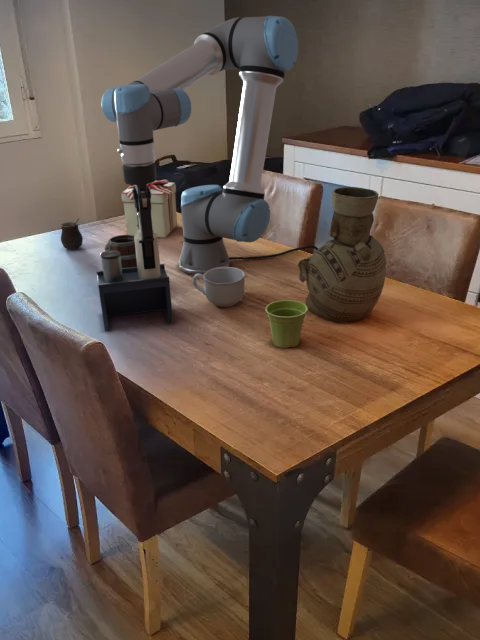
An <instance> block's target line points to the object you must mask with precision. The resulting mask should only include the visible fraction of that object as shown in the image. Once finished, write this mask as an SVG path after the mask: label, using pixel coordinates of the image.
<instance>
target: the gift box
mask: <svg viewBox="0 0 480 640" xmlns="http://www.w3.org/2000/svg"><path fill="white" fill-rule="evenodd" d="M125 184H126V185H128V187H127V188H126V189H124V190H123V191H122V192H121V194H120V195H121V202H122V204H123V211H124V219H125V221H124V222H125V229H126V235H133V236H135V235H136V234H137V230H138V229H139V228H138V227H137V224H138V223H137V213H136V208H135V204H134V198H133V194H132V190H133V188H134V186H135V184H133V185H130V184H127V183H125ZM129 185H130V186H129ZM147 188H149V190H150V191H151V199H150V200H151V218H152V229H153V230H154V233H156V234H157V236H158V238H161V239H162V238H164V239H165V238H167V237H168V236H169V234H171V233H172V231H173V230H174V229H175V228H176V227H177V226H178V214H177V201H176V193H177V186H176V182H170V180H168V179H161V180H156V181H154V182H153V183H148V184H147Z"/></svg>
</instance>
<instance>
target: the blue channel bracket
mask: <svg viewBox="0 0 480 640" xmlns="http://www.w3.org/2000/svg"><path fill="white" fill-rule="evenodd" d="M160 270H161V276H160V277H159V278H150V279H139V277H138V270H137V267H130V268H122V272H123V281H121V282H113V283H106V282H105V281H104V274H103V269H102V270H96V277H97V286H98V295H99V301H100V307H101V314H102V320H103V328H104V332H109V331H110V328H109V320H108V317H113V316H120V315H131V314H137V313H139V314H140V313H146V312H155V311H164V313H165V316H166V319H167V323H168V325H171V324H174V321H173V320H174V319H173V308H172V296H171V284H170V281H171V280H170V276H168V273H167V271H166V269H165V264H164V263H160Z"/></svg>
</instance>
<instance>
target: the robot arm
mask: <svg viewBox="0 0 480 640" xmlns="http://www.w3.org/2000/svg"><path fill="white" fill-rule="evenodd" d="M298 55H299V39H298V35H297V32H296V28H295V26H294V24H293V22H291V20H289V19H288V18H287V17H285V16H279V15H278V16H276V15H271V14H270V15H264V16H237V17H233V18H230V19H227V20H224V21H223V22H221V23H218V24H217V25H215V26H213V27H212V28H210V29H208V30H206V31H205V32H203V33H202V34H199V35H198V36H197V37H196V39H195V40H194V42H193V44H192V45H190V46H189V47H186V48H185V49H184V50H182V51H180V52H179V53H178V54H176V55H173V56H172V57H171V58H169V59H168V60H166V61H163V62H162V63H161V64H159V65H158V66H155V68H153V69H151V70H149V71H147V73H145V74H143V75H142V76H140V77H138V78H137V79H135V80H133V81H132V82H129V83H128V84H123V85H119V86H115V87H109V88H108V89H106V90H105V92H104V93H103V94H102V98H101V109H102V112H103V115H104V117H105V118H106V119H107V120H108V121H110V122H112V123H116V124H117V125H116V126H117V132H118V142H119V147H120V148H117V153H118V154H120V157H121V163H122V164H123V165H122V166H121V170H122V178H123V182H124V183H125V184H126V183H127V184H126V185H128V184H130V186H131V185H133V184H135V186H134V188H133V190H132V194H133V198H134V204H135V208H136V213H137V223H138V224H137V227H138V228H139V219H138V213H139V218H140V227H141V235H142V240H140V241H139V243H142V253H143V262H144V270H145V269H154V268H156V267H155V256H154V245H153V242H154V238H153V229H152V218H151V200H150V199H151V191H150V190H149V188H147V184H148V183H153V182H154V181H157V180H158V179H157V177H158V176H157V165H156V163H155V161H156V151H155V141H154V131H157V130H162V129H167V128H173V127H175V128H176V127H178V126H180V125H183V124H186V122H188V120H189V119H190V117H191V115H192V102H191V98H190V96H189V94H188V93H187V92H186V91H185V89H188V88H189V87H190V86H193V85H194V84H196V83H197V82H198V81H200V80H201V79H203V78H204V77H206V76H215V75H217V74H218V73H220V72H223V71H227V70H239V71H238V76H239V77H240V79H241V80H242V82H243V83H242V84H243V85H242V92H241V98H240V105H239V111H238V112H239V113H238V119H237V120H238V121H237V126H236V134H235V140H234V148H233V154H232V160H231V168H230V175H229V180H228V182H226V183H225V184H224V185H223V186H221V185H219V184H205V185H204V184H203V185H198V186H193V187H189V188H187V189H185V190H184V191H182V193H181V195H180V211H181V212H180V213H181V223H182V224H181V225H182V235H183V237H182V238H183V243H182V248H181V251H180V255H179V258H178V267H179V268H178V269H179V270H180V271H181V272H183V273H184V274H189V275H193V276H194V275H195V274H198V273H200V274H203V275H204V274H205V273H206V272H207V271H208V270H210V269H213V268H217V267H231V266H230V261H237V260H239V261H240V260H241V261H242V260H243V261H245V260H259V259H268V258H276V257H281V256H284V255H287V254H291V253H292V252H296V251H297V252H298V251H302V250H305V249H310V248H311V249H314V250H315V251H316V250H318V249H319V247H318V246H316V245H313V244H308V245H303V246H299V247H294V248H291V249H288V250H286V251H282V252H278V253H274V254H266V255H258V256H229V254H228V252H227V248H226V245H225V242H224V239H228V240H232V241H235V242H240V243H254V242H256V241H258V240H259V239H260V238H261V237H262V236H263V235H264V234H265V232H266V230H267V228H268V227H269V223H270V220H271V209H270V203H269V202H268V201H266V200H265V194H266V192H265V191H264V189H263V187H262V179H263V173H264V168H265V162H266V156H267V155H266V154H267V148H268V142H269V137H270V130H271V123H272V117H273V111H274V105H275V100H276V99H275V98H276V94H277V93H276V92H277V88H278V87H279V86H280V85H281V84H282V83H283V82H284V80H285V74H286V72H289V71H291V70H292V69H293V68H294V65H295V64H296V62H297V60H298V59H297V58H298ZM138 230H139V229H138Z"/></svg>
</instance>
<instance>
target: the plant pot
mask: <svg viewBox="0 0 480 640" xmlns="http://www.w3.org/2000/svg"><path fill="white" fill-rule="evenodd" d="M308 311H309V310H308V307H307V306H306V303H305V302H304V303H303V302H302V301H299V300H292V299H281V300H276V301H272V302H270V303H269V304H267V305H266V306H265V313H266V314H267V317H268V319H269V326H270V333H271V339H272V343H273V345H274V346H275V347H278V348H281V349H288V348H295V347H297V346H298V345H299V344H300V340H301V335H302V329H303V324H304V319H305V318H306V314H307V313H308Z"/></svg>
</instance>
